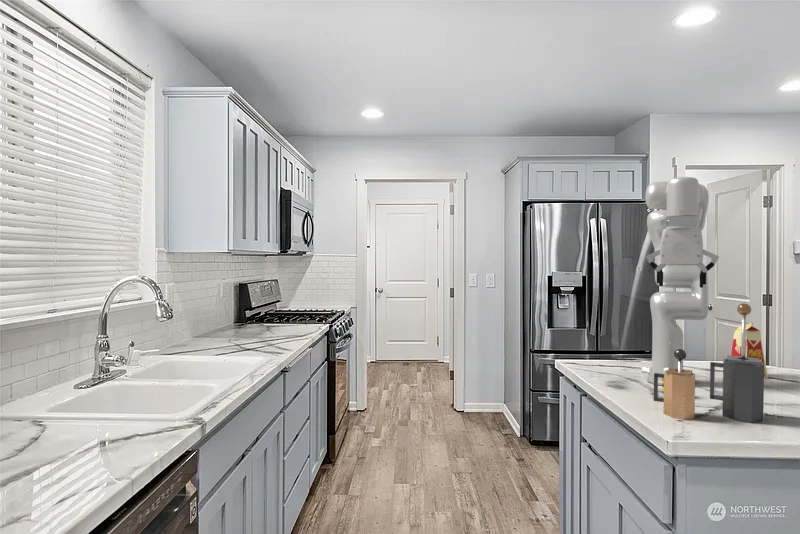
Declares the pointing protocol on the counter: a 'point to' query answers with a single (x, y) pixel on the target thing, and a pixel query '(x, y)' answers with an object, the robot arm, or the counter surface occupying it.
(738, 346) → the milk carton
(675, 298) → the robot arm
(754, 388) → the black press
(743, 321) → the plunger rod
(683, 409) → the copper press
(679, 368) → the grey ball handle
